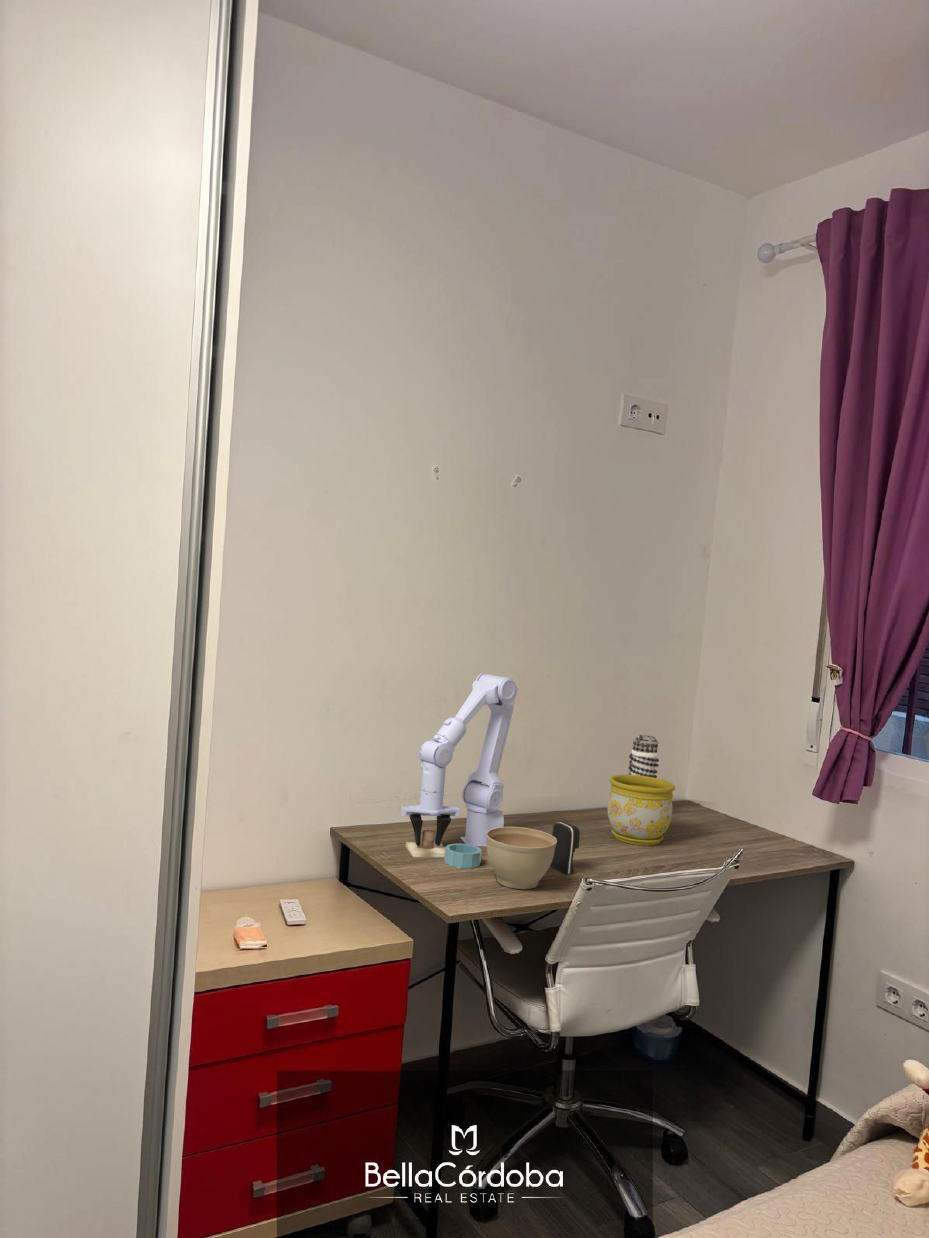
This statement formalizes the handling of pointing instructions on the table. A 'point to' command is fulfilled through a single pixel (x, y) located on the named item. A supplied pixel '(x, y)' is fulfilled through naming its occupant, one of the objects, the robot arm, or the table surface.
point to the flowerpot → (640, 808)
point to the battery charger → (565, 846)
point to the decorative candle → (644, 756)
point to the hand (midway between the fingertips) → (427, 844)
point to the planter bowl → (519, 855)
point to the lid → (426, 846)
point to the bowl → (462, 856)
